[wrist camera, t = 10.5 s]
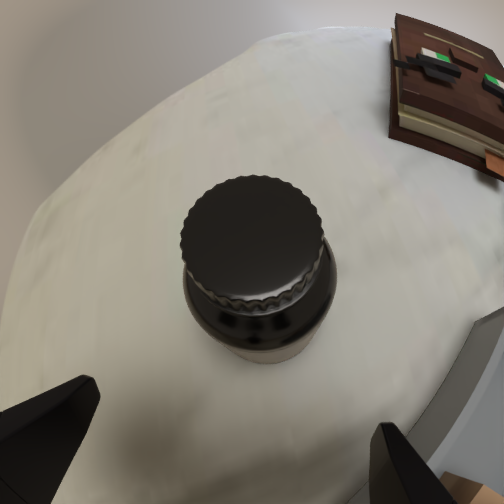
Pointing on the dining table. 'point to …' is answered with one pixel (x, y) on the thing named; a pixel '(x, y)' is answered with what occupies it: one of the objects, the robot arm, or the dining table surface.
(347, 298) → the dining table surface
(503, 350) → the tote
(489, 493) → the walnut cube
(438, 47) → the decorative book
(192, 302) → the supplement bottle
